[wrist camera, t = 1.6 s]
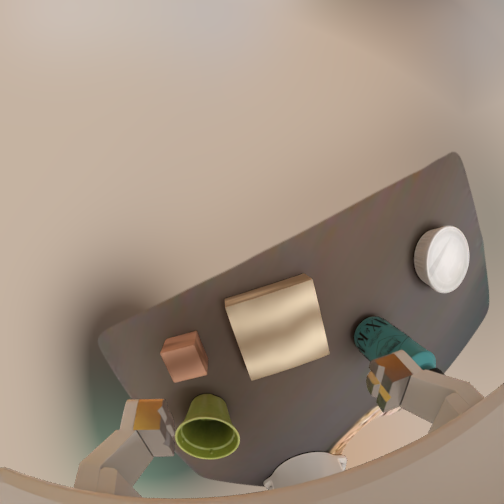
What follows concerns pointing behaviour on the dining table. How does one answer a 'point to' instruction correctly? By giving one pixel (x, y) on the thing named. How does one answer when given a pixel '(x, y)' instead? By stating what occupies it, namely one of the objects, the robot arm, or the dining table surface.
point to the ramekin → (442, 258)
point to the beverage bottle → (390, 343)
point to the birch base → (278, 326)
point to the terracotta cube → (185, 357)
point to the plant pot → (207, 429)
